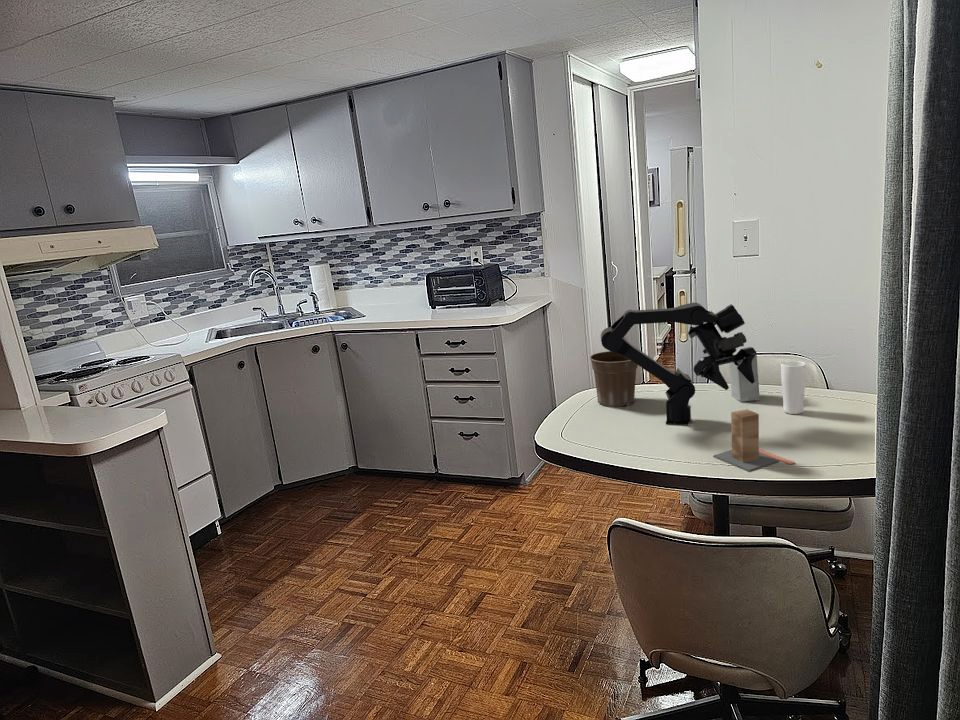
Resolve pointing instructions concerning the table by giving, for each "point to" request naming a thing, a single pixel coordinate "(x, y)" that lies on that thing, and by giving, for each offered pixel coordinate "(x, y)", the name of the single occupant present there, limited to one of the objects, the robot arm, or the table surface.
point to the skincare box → (744, 383)
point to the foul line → (776, 457)
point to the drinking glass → (793, 386)
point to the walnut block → (745, 435)
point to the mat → (748, 465)
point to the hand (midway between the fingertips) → (740, 385)
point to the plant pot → (614, 378)
